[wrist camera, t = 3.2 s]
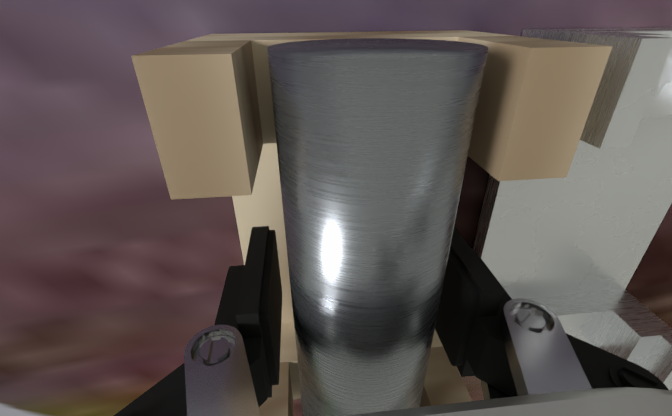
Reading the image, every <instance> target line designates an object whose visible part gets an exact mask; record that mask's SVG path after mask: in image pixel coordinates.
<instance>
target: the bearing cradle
mask: <svg viewBox="0 0 672 416" xmlns="http://www.w3.org/2000/svg"><path fill="white" fill-rule="evenodd" d="M355 38H400V39H430V40H447V41H459V42H468V43H475V44H480V45H484V46H486V47H488V52H487V57H486V62H485V68H484V73H483V78H482V83H481V89H480V94H479V99H478V104H477V110H476V115H475V120H474V125H473V131H472V136H471V141H470V146H469V151H468V157H470V158H471V159H472V160H473V161H474V162H476V163H477V164H478V165H479V166H480V167H482V168H483V169H484V170H485V171H487V172H488V173H489V174H490V175H491V176H493V177H494V178H495V179H496V180H497V181H511V180H529V179H547V178H565V177H567V174H568V171H569V169H570V166H571V163H572V160H573V157H574V154H575V152H576V149H577V146H578V143H579V140H580V137H581V135H582V132H583V129H584V126H585V123H586V120H587V118H588V115H589V112H590V109H591V106H592V103H593V100H594V98H595V95H596V92H597V89H598V86H599V83H600V81H601V78H602V75H603V72H604V69H605V66H606V64H607V61H608V58H609V55H610V52H611V49H612V47H613V46H605V45H596V44H587V43H578V42H568V41H559V40H550V39H541V38H532V37H522V36H513V35H504V34H495V33H485V32H476V31H467V30H447V31H379V32H311V33H243V34H209V35H206V36H202V37H198V38H195V39H191V40H187V41H184V42H180V43H176V44H173V45H169V46H165V47H162V48H158V49H154V50H151V51H147V52H143V53H140V54H136V55H132V56H131V57H132V60H133V64H134V68H135V71H136V75H137V78H138V82H139V86H140V89H141V93H142V96H143V100H144V104H145V107H146V111H147V114H148V118H149V122H150V125H151V129H152V133H153V136H154V140H155V143H156V147H157V151H158V154H159V158H160V161H161V165H162V169H163V172H164V176H165V180H166V183H167V187H168V190H169V194H170V198H171V199H188V198H206V197H224V196H232V198H233V203H234V209H235V215H236V220H237V226H238V232H239V237H240V243H241V249H242V254H243V260H244V265H245V262H246V256H247V251H248V246H249V241H250V235H251V230H252V227H261V226H269V230H275V232H276V241H277V250H278V259H279V267H280V276H281V285H282V319H281V346H280V372H279V385H272V397H270V398H267V400H266V401H265V402H264V403H263V404H262V405H261V406H260V407H259V411H260V415H261V416H293V399H300V398H301V391H300V380H299V370H298V360H297V349H296V339H295V329H294V318H293V308H292V298H291V287H290V277H289V267H288V256H287V246H286V236H285V225H284V215H283V205H282V194H281V184H280V174H279V163H278V153H277V143H276V132H275V122H274V112H273V101H272V91H271V81H270V70H269V60H268V50H267V47H269V46H271V45H275V44H280V43H287V42H296V41H308V40H325V39H355ZM469 401H472V400H471V397H470V395H469V393H468V391H467V389H466V387H465V384H464V382H463V380H462V378H461V376H460V374H459V371H458V369H457V367H456V366H452V365H451V363H450V361H449V359H448V356H447V354H446V352H445V350H444V348H443V345H442V343H441V341H440V339H439V336H438V334H437V332H436V330H435V329H434V335H433V340H432V345H431V350H430V356H429V361H428V366H427V371H426V377H425V382H424V387H423V392H422V398H421V403H420V407H425V406H434V405H443V404H452V403H461V402H469Z"/></svg>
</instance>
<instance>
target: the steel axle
mask: <svg viewBox="0 0 672 416" xmlns="http://www.w3.org/2000/svg"><path fill="white" fill-rule="evenodd" d="M267 50H268V60H269V70H270V81H271V91H272V101H273V112H274V122H275V132H276V143H277V153H278V163H279V174H280V184H281V194H282V205H283V215H284V225H285V236H286V246H287V256H288V267H289V277H290V287H291V298H292V308H293V318H294V329H295V339H296V349H297V360H298V370H299V380H300V391H301V401H302V411H303V416H348V415H356V414H365V413H373V412H382V411H391V410H399V409H408V408H417V407H420V403H421V398H422V392H423V387H424V382H425V377H426V371H427V366H428V361H429V356H430V350H431V345H432V340H433V335H434V329H435V324H436V319H437V314H438V309H439V303H440V298H441V293H442V288H443V282H444V277H445V272H446V267H447V261H448V256H449V251H450V246H451V240H452V235H453V230H454V225H455V220H456V214H457V209H458V204H459V199H460V193H461V188H462V183H463V178H464V172H465V167H466V162H467V157H468V151H469V146H470V141H471V136H472V131H473V125H474V120H475V115H476V110H477V104H478V99H479V94H480V89H481V83H482V78H483V73H484V68H485V62H486V57H487V52H488V47H486V46H484V45H480V44H475V43H468V42H459V41H447V40H430V39H400V38H355V39H325V40H308V41H296V42H287V43H280V44H275V45H271V46H269V47H267Z"/></svg>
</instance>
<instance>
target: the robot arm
mask: <svg viewBox="0 0 672 416" xmlns="http://www.w3.org/2000/svg"><path fill="white" fill-rule="evenodd" d="M281 319H282V285H281V276H280V267H279V259H278V250H277V241H276V232H275V230H269V226H261V227H252V230H251V235H250V241H249V246H248V251H247V256H246V262H245V265H242V266H230V267H229V270H228V273H227V277H226V281H225V285H224V289H223V293H222V297H221V301H220V305H219V309H218V313H217V317H216V321H215V325H214V326H210V327H208V328H206V329H203V330H201V331H200V332H199V333H197V334H196V335H195V336H194V337H193V338H192V339H191V340H190V341H189V342H188V344H187V346H186V348H185V353H184V364H182V365H181V366H180V367H178V368H177V369H176V370H174V371H173V372H172V373H170V374H169V375H168V376H166V377H165V378H164V379H162V380H161V381H160V382H158V383H157V384H156V385H154V386H153V387H152V388H150V389H149V390H148V391H146V392H145V393H144V394H142V395H141V396H140V397H138V398H137V399H136V400H134V401H133V402H132V403H130V404H129V405H128V406H126V407H125V408H124V409H122V410H121V411H120V412H118V413H117V414H116V415H114V416H261V415H260V411H259V407H260V406H261V405H262V404H263V403H264V402H265V401H266V400H267V398H270V397H272V385H279V372H280V346H281ZM435 330H436V332H437V334H438V336H439V339H440V341H441V343H442V345H443V348H444V350H445V352H446V354H447V356H448V359H449V361H450V363H451V365H452V366H457V368H458V370H459V372H460V374H461V376H462V377H465V376H474V375H475V376H476V377H477V378H479V379H481V385H482V391H483V396H484V400H479V401H469V402H461V403H452V404H443V405H434V406H425V407H417V408H408V409H399V410H391V411H382V412H373V413H365V414H356V415H348V416H672V389H671V390H668V388H667V387H666V385H665V384H664V383H663V382H662V381H661V380H660V379H659V378H658V377H656V376H655V375H654V374H652V373H651V372H650V371H648V370H646V369H645V368H643V367H641V366H639V365H637V364H635V363H632V362H630V361H628V360H626V359H623V358H621V357H619V356H617V355H614V354H612V353H610V352H607V351H605V350H603V349H601V348H598V347H596V346H594V345H592V344H589V343H587V342H585V341H582V340H580V339H578V338H576V337H573V336H571V335H569V334H567V333H565V331H564V329H563V327H562V324H561V322H560V320H559V319H558V317H557V316H556V314H555V313H553V312H552V311H551V310H550V309H549V308H547V307H546V306H544V305H542V304H541V303H538V302H536V301H533V300H529V299H524V298H516V299H512V298H511V297H510V296H509V295H508V293H507V292H506V291H505V289H504V288H503V287H502V285H501V284H500V283H499V281H498V280H497V279H496V277H495V276H494V275H493V274H492V272H491V271H490V270H489V268H488V267H487V266H486V264H485V263H484V262H483V260H482V259H481V258H480V256H479V255H478V254H477V253H476V251H474V250H473V249H471V248H470V246H469V245H468V244H467V242H466V241H465V240H464V238H463V237H462V236H461V234H460V233H459V232H458V230H457V229H456V228H455V226H454V230H453V235H452V240H451V246H450V251H449V256H448V261H447V267H446V272H445V277H444V282H443V288H442V293H441V298H440V303H439V309H438V314H437V319H436V324H435Z"/></svg>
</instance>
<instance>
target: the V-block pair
mask: <svg viewBox="0 0 672 416" xmlns="http://www.w3.org/2000/svg"><path fill="white" fill-rule="evenodd" d="M522 37H532V38H541V39H550V40H559V41H568V42H578V43H587V44H596V45H605V46H613V47H612V49H611V52H610V55H609V58H608V61H607V64H606V66H605V69H604V72H603V75H602V78H601V81H600V83H599V86H598V89H597V92H596V95H595V98H594V100H593V103H592V106H591V109H590V112H589V115H588V118H587V120H586V123H585V126H584V129H583V132H582V135H581V137H580V140H579V143H578V146H577V149H576V152H575V154H574V157H573V160H572V163H571V166H570V169H569V171H568V174H567V177H565V178H547V179H529V180H511V181H497V180H496V179H495V178H494V177H493V176H491V175H489V179H488V184H487V188H486V192H485V197H484V201H483V205H482V210H481V214H480V218H479V223H478V227H477V231H476V236H475V240H474V244H473V250H474V251H476V253H477V254H478V255H479V256H480V258H481V259H482V260H483V262H484V263H485V264H486V266H487V267H488V268H489V270H490V271H491V272H492V274H493V275H494V276H495V277H496V279H497V280H498V281H499V283H500V284H501V285H502V287H503V288H504V289H505V291H506V292H507V293H508V295H509V296H510V297H511V298H512V299H516V298H524V299H529V300H533V301H536V302H538V303H541V304H542V305H544V306H546V307H547V308H549V309H550V310H551V311H552V312H553V313H555V314H556V316H557V317H558V319H559V320H560V322H561V324H562V327H563V329H564V331H565V333H567V334H569V335H571V336H573V337H576V338H578V339H580V340H582V341H585V342H587V343H589V344H592V345H594V346H596V347H598V348H601V349H603V350H605V351H607V352H610V353H612V354H614V355H617V356H619V357H621V358H623V359H626V360H628V361H630V362H632V363H635V364H637V365H639V366H641V367H643V368H645V369H646V370H648V371H650V372H651V373H652V374H654V375H655V376H656V377H658V378H659V379H660V380H661V381H662V382H663V383H664V384H665V385H666V387H667V388H668V390H671V389H672V328H671V327H669V326H668V325H667V324H666V323H665V322H663V321H662V320H661V319H660V318H659V317H657V316H656V315H655V314H654V313H653V312H651V311H650V310H649V309H648V308H647V307H645V306H644V305H643V304H642V303H641V302H639V301H638V300H637V299H636V298H635V297H633V296H632V295H631V294H630V293H629V292H627V291H626V290H625V289H626V287H627V285H628V283H629V281H630V279H631V278H632V276H633V274H634V272H635V270H636V268H637V266H638V265H639V263H640V261H641V259H642V257H643V255H644V253H645V252H646V250H647V248H648V246H649V244H650V242H651V240H652V239H653V237H654V235H655V233H656V231H657V229H658V227H659V226H660V224H661V222H662V220H663V218H664V216H665V214H666V213H667V211H668V209H669V207H670V205H671V203H672V27H652V28H584V29H523V32H522Z"/></svg>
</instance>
